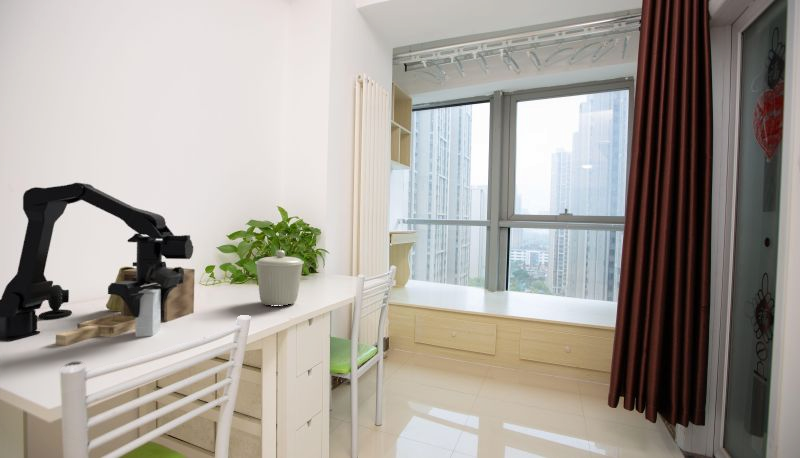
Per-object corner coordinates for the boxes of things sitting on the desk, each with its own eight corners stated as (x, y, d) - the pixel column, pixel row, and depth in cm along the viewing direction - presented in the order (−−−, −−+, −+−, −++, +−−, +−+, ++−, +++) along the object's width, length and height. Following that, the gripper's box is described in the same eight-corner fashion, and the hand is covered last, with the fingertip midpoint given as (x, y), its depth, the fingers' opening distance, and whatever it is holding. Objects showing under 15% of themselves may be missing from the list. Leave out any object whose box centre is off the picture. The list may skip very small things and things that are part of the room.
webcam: (71, 317, 108) (71, 285, 108) (36, 321, 103) (36, 288, 103) (72, 311, 114) (72, 281, 113) (40, 315, 109) (40, 284, 109)
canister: (279, 296, 147) (281, 247, 146) (312, 302, 138) (314, 250, 138) (243, 305, 130) (244, 249, 130) (278, 312, 122) (279, 253, 122)
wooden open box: (166, 321, 107) (167, 274, 107) (120, 317, 110) (121, 270, 110) (193, 312, 118) (194, 269, 118) (150, 308, 121) (151, 266, 121)
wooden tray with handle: (78, 347, 85) (78, 337, 85) (42, 342, 87) (42, 332, 87) (144, 326, 103) (144, 317, 103) (113, 322, 105) (113, 314, 105)
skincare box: (143, 330, 99) (144, 288, 99) (160, 329, 100) (161, 288, 100) (134, 337, 93) (135, 293, 93) (152, 336, 95) (153, 293, 94)
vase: (132, 307, 120) (144, 272, 118) (116, 314, 114) (128, 276, 112) (117, 299, 121) (129, 264, 118) (100, 305, 115) (112, 268, 112)
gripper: (144, 264, 86) (143, 326, 86) (199, 256, 104) (198, 307, 105) (106, 261, 88) (105, 322, 88) (167, 254, 106) (166, 304, 106)
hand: (148, 313), depth 97 cm, fingers closed on skincare box, 7 cm apart
